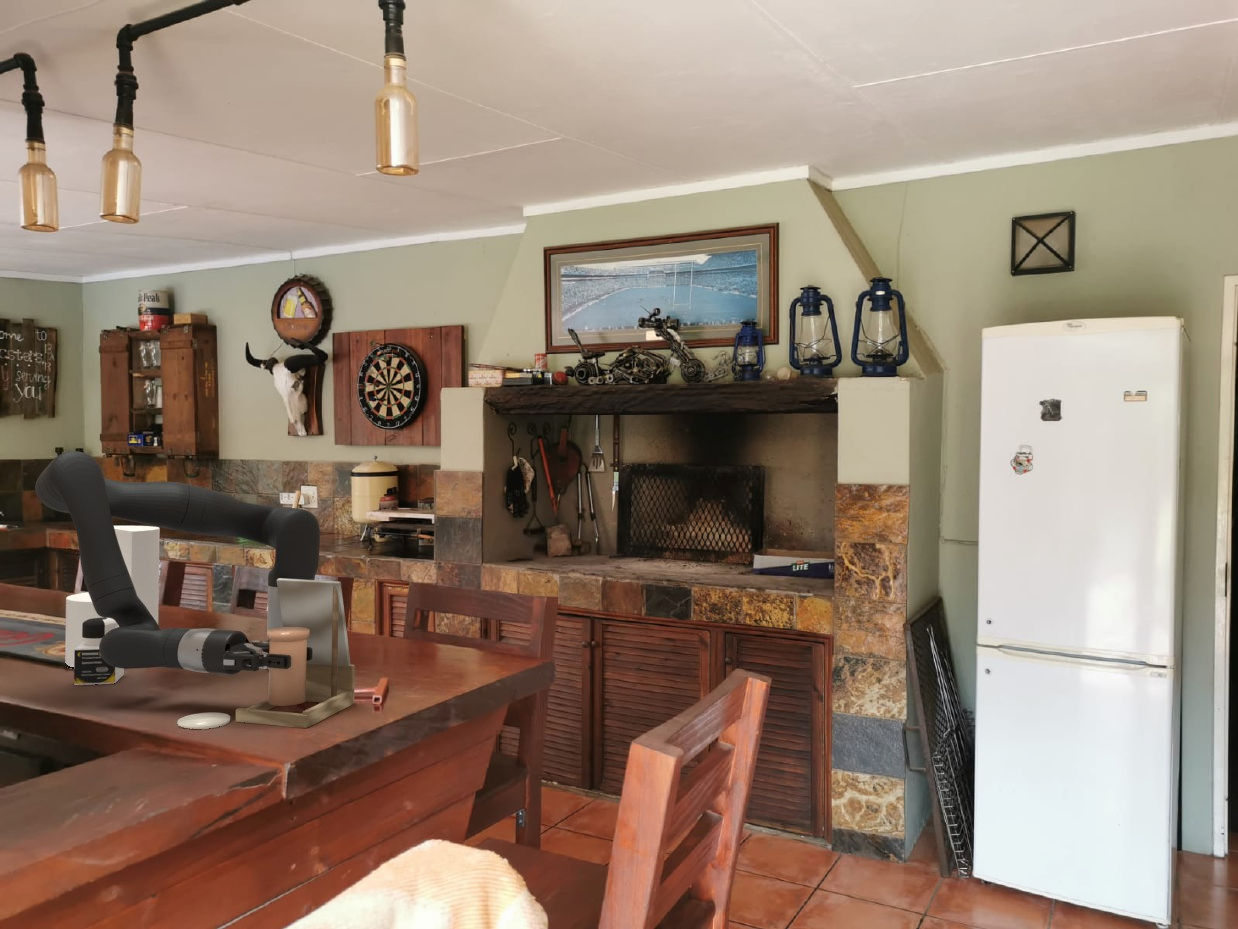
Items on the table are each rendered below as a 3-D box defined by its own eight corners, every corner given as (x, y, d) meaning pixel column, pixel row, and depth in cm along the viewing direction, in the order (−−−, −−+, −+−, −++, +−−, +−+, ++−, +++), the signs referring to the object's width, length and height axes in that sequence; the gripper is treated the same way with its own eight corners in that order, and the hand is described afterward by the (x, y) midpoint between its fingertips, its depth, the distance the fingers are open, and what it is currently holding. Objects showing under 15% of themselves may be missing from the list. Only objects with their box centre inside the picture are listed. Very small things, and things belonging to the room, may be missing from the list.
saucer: (198, 714, 161) (198, 711, 161) (240, 718, 160) (240, 714, 160) (166, 727, 153) (166, 723, 153) (209, 731, 152) (209, 727, 152)
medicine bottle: (73, 686, 179) (74, 622, 179) (83, 677, 186) (84, 616, 185) (115, 684, 181) (116, 621, 180) (124, 675, 187) (125, 615, 187)
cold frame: (289, 698, 173) (291, 575, 173) (354, 703, 170) (356, 578, 170) (235, 721, 157) (237, 586, 157) (306, 728, 155) (308, 590, 154)
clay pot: (280, 694, 165) (282, 626, 165) (315, 697, 164) (317, 628, 163) (257, 704, 158) (259, 633, 158) (293, 708, 157) (295, 636, 157)
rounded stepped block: (136, 649, 212) (138, 524, 212) (172, 661, 201) (174, 529, 201) (51, 660, 199) (53, 527, 199) (84, 674, 188) (86, 533, 187)
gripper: (186, 637, 157) (277, 644, 153) (239, 622, 171) (323, 628, 167) (185, 682, 157) (276, 690, 153) (238, 663, 171) (322, 670, 167)
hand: (300, 658), depth 160 cm, fingers closed on clay pot, 6 cm apart
